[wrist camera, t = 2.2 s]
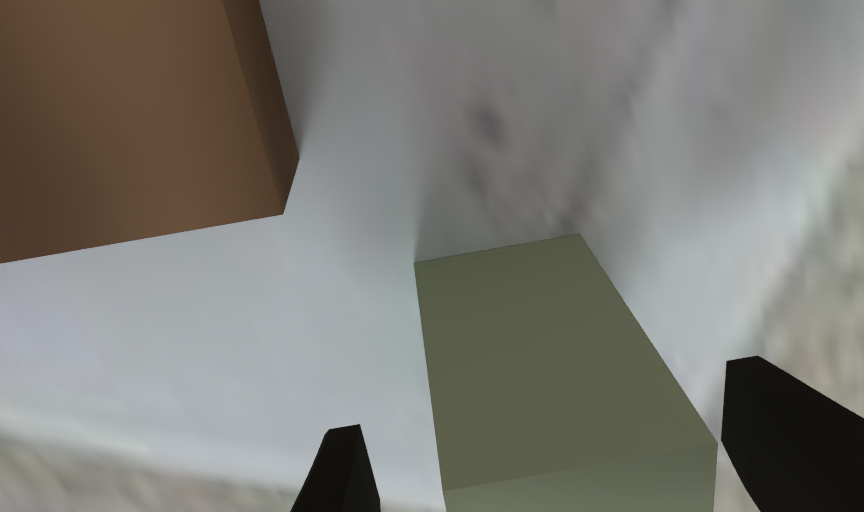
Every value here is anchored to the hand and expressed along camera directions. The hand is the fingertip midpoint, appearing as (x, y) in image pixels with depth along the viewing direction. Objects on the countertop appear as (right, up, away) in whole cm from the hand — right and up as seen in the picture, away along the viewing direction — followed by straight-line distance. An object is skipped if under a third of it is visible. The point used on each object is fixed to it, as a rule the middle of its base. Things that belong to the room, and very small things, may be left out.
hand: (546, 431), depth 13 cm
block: (0, +2, +4) cm, 4 cm away
